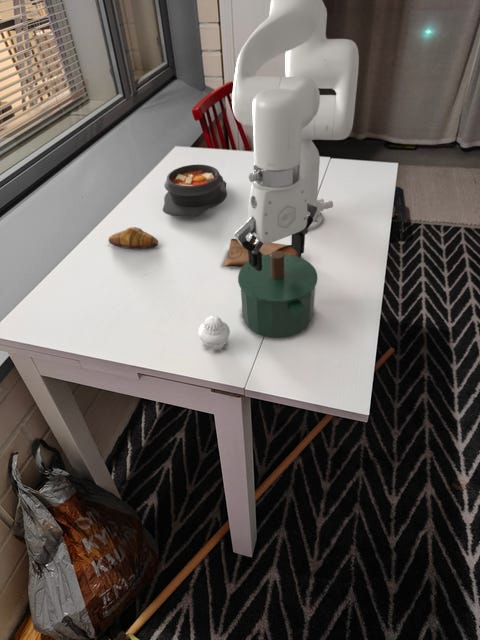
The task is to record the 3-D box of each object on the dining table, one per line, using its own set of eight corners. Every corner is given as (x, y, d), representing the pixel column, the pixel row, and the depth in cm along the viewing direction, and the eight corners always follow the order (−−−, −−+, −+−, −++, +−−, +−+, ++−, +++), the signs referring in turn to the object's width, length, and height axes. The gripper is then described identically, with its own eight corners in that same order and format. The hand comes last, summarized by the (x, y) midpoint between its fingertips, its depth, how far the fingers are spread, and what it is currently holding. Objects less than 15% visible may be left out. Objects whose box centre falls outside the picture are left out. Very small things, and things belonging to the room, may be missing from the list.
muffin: (224, 358, 89) (221, 332, 84) (195, 352, 90) (190, 325, 86) (235, 337, 93) (233, 311, 88) (207, 331, 95) (203, 305, 90)
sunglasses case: (221, 266, 110) (223, 238, 109) (229, 264, 117) (231, 237, 116) (296, 274, 107) (299, 245, 105) (300, 271, 113) (302, 244, 112)
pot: (287, 279, 106) (288, 244, 100) (332, 333, 92) (336, 296, 86) (228, 296, 103) (225, 261, 96) (265, 356, 89) (264, 319, 82)
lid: (294, 251, 99) (295, 225, 95) (332, 291, 88) (334, 265, 84) (226, 270, 95) (224, 244, 91) (257, 315, 84) (255, 288, 80)
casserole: (208, 227, 126) (205, 199, 120) (148, 218, 131) (142, 190, 125) (240, 186, 143) (238, 160, 137) (186, 180, 148) (182, 154, 143)
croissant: (162, 239, 122) (159, 223, 119) (154, 254, 117) (150, 237, 114) (115, 236, 125) (111, 220, 121) (105, 250, 120) (100, 233, 116)
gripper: (245, 195, 71) (249, 284, 82) (332, 166, 77) (325, 252, 88) (220, 178, 76) (228, 265, 87) (304, 152, 82) (301, 236, 93)
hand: (277, 258), depth 88 cm, fingers open, 9 cm apart
